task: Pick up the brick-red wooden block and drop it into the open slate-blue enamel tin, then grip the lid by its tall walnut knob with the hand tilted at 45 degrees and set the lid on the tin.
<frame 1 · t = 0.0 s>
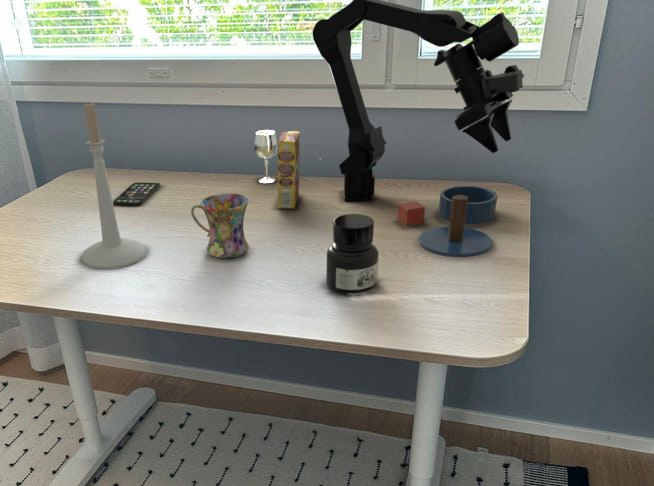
hand: (502, 146, 138), 15 cm above the table, tool tilted 35°, fingers open, 9 cm apart
ink bottle: (351, 285, 122), on the table
tin: (465, 217, 146), on the table
wineglass: (267, 181, 175), on the table
mug: (221, 252, 138), on the table
candlestick: (114, 256, 139), on the table
candy box: (289, 203, 160), on the table
block: (410, 223, 145), on the table
tin lid: (454, 242, 134), point 1 cm above the table
smartphone: (137, 195, 171), on the table
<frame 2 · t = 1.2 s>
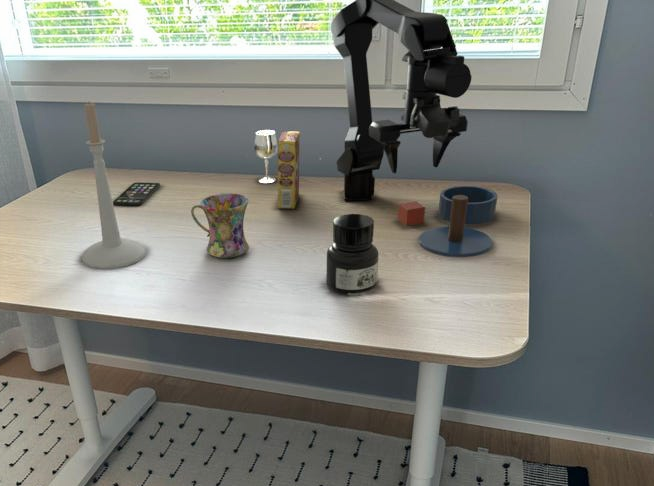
hand: (414, 169, 139), 11 cm above the table, tool pointing down, fingers open, 9 cm apart
nothing on the table moved.
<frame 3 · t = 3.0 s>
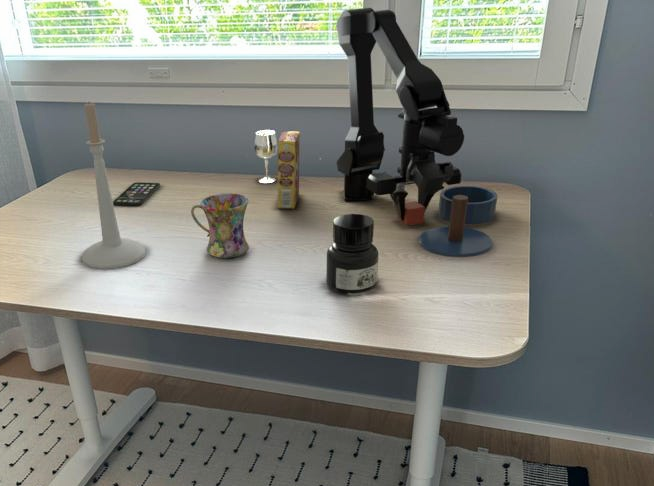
hand: (410, 218, 144), 1 cm above the table, tool pointing down, fingers closed on block, 4 cm apart
block: (410, 223, 145), on the table, touching gripper
everything else where it was.
when the fingers open (7 cm above the table, at t = 7.1 s): block drops 6 cm, resting on tin.
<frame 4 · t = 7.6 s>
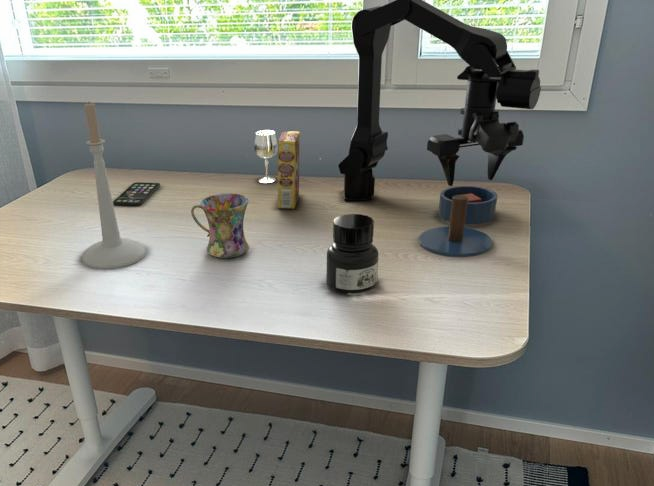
hand: (470, 182, 142), 8 cm above the table, tool pointing down, fingers open, 9 cm apart
block: (465, 215, 146), resting on tin
everything else where it was.
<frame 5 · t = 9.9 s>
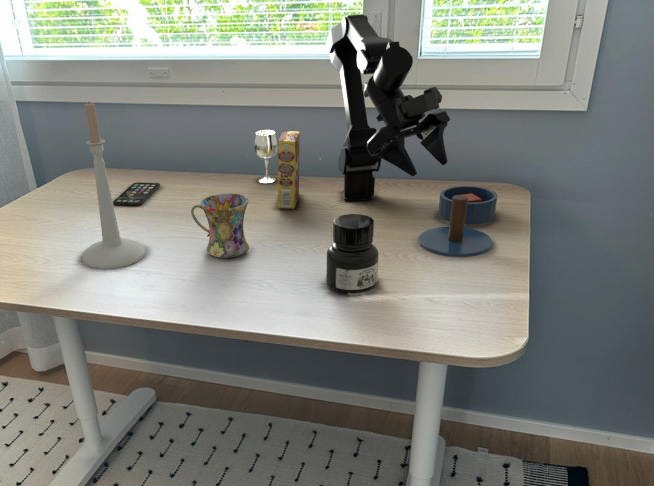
hand: (430, 169, 132), 13 cm above the table, tool tilted 45°, fingers open, 9 cm apart
nothing on the table moved.
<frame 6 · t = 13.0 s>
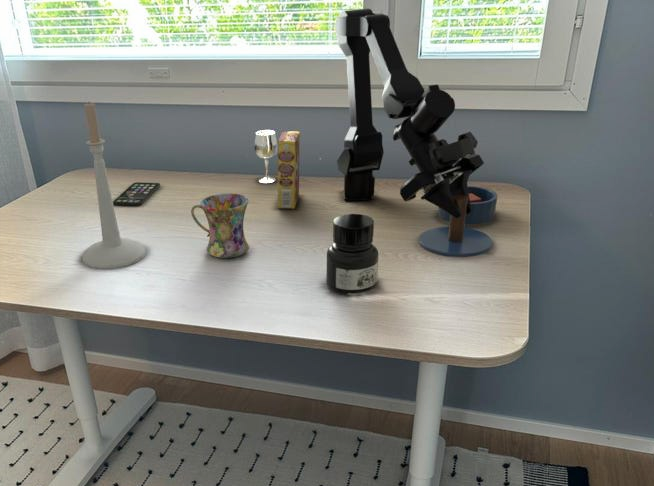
hand: (464, 214, 130), 7 cm above the table, tool tilted 45°, fingers closed on tin lid, 3 cm apart
tin lid: (454, 242, 134), point 1 cm above the table, touching gripper
everything else where it was.
when the fingers open (11 cm above the table, at t = 18.5 s): tin lid stays where it is, resting on block, tin.
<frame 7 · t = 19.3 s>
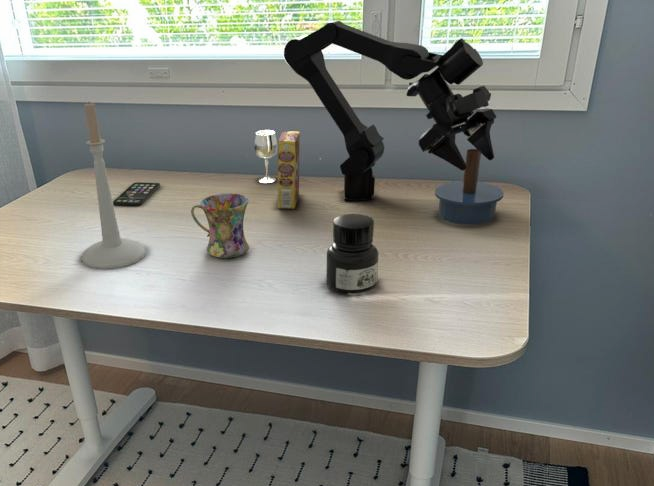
hand: (478, 164, 139), 12 cm above the table, tool tilted 45°, fingers open, 9 cm apart
block: (465, 215, 146), resting on tin, touching tin lid
tin lid: (468, 194, 144), point 5 cm above the table, touching block, tin
everything else where it was.
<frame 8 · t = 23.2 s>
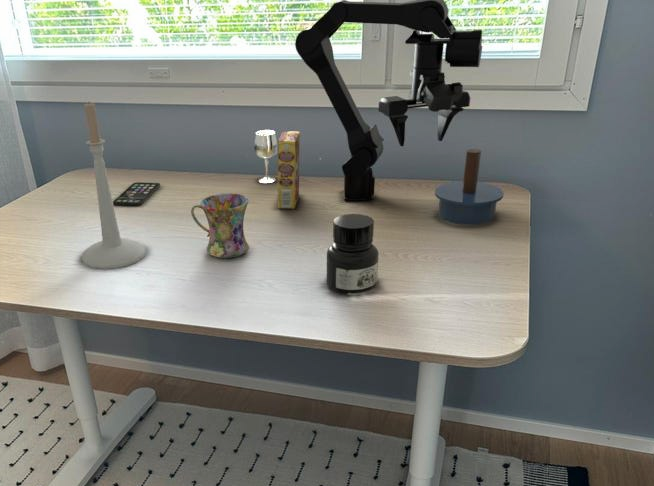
hand: (420, 143, 150), 13 cm above the table, tool pointing down, fingers open, 9 cm apart
nothing on the table moved.
at the end: block inside the target area in the tin (0.0 cm from its centre), point 0.4 cm above the tin's base; tin lid 0.0 cm off-centre on the tin, point 5.0 cm above the tin's base; tin lid tilted 0° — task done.
